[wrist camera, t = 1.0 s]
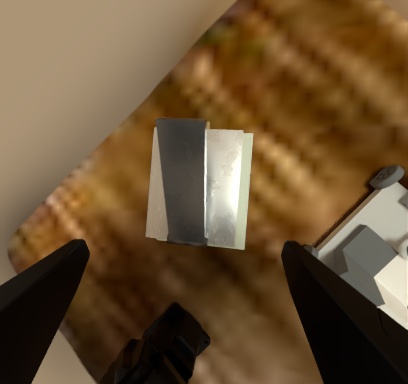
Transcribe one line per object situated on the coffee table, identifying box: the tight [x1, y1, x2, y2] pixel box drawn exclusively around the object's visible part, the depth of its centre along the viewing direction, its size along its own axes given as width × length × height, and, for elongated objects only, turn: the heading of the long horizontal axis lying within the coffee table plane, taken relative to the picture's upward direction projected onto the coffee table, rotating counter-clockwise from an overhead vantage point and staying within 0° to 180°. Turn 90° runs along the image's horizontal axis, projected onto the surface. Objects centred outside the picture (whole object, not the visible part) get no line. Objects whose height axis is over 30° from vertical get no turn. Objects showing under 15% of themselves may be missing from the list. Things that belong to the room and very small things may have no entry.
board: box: [157, 133, 253, 250], centre depth 25 cm, size 14×11×1 cm
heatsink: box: [146, 122, 243, 247], centre depth 21 cm, size 11×8×7 cm
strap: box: [156, 118, 208, 248], centre depth 14 cm, size 10×3×1 cm, turn 177°
